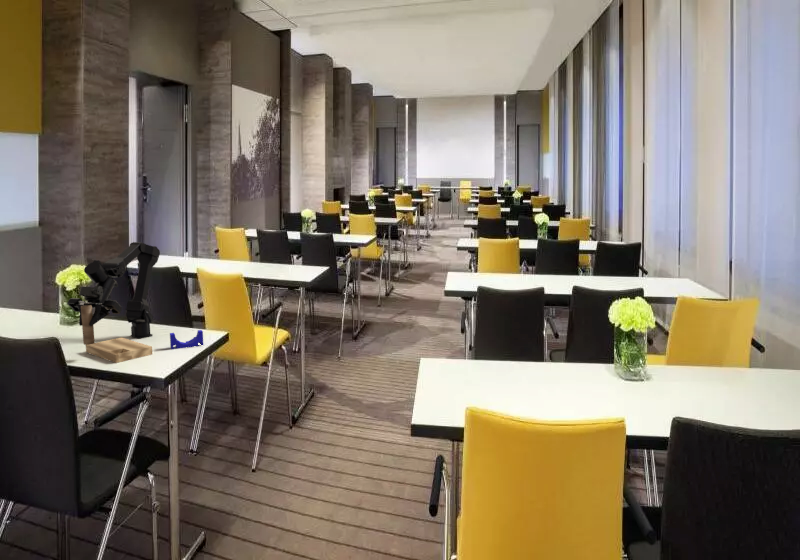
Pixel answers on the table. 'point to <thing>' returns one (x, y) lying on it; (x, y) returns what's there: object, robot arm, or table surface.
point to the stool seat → (119, 349)
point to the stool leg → (87, 325)
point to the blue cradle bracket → (190, 343)
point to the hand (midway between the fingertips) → (85, 325)
